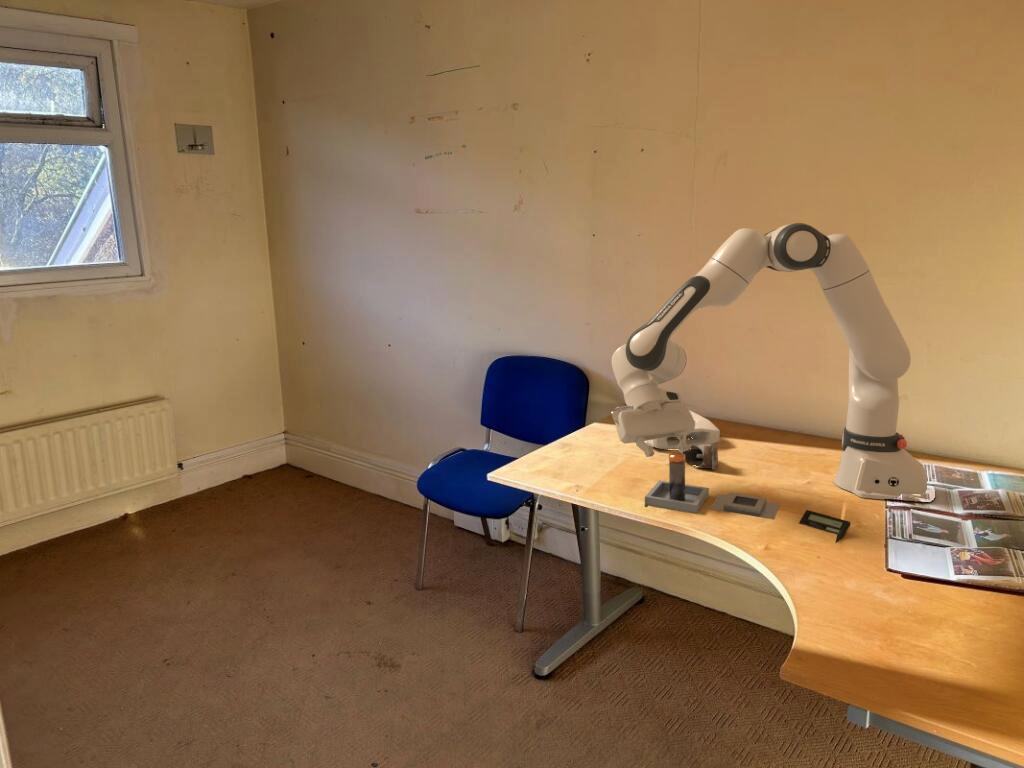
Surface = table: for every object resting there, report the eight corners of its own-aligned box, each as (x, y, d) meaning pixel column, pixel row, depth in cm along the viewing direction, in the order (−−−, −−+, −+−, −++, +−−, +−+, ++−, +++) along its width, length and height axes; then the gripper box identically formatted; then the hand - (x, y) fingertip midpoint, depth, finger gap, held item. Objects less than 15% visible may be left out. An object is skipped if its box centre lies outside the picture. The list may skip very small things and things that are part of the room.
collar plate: (779, 506, 171) (780, 498, 171) (773, 521, 163) (774, 514, 162) (718, 496, 177) (718, 489, 177) (709, 511, 169) (709, 503, 168)
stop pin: (687, 497, 175) (687, 453, 173) (683, 503, 171) (683, 457, 169) (671, 496, 176) (671, 451, 174) (667, 501, 173) (667, 456, 171)
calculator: (782, 537, 155) (783, 524, 155) (806, 521, 163) (807, 509, 163) (826, 551, 149) (827, 537, 148) (849, 534, 157) (850, 521, 156)
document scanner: (654, 453, 211) (655, 432, 210) (616, 426, 238) (616, 408, 236) (720, 446, 216) (721, 426, 215) (676, 421, 243) (677, 403, 241)
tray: (708, 497, 177) (708, 487, 176) (696, 515, 166) (696, 505, 166) (659, 489, 182) (659, 480, 181) (644, 506, 172) (644, 496, 171)
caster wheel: (687, 466, 207) (724, 465, 202) (676, 469, 197) (714, 469, 192) (686, 442, 207) (722, 441, 202) (675, 444, 197) (713, 444, 192)
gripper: (614, 401, 176) (635, 452, 169) (685, 392, 183) (708, 441, 177) (604, 415, 181) (624, 465, 174) (674, 406, 188) (696, 453, 182)
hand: (667, 453), depth 175 cm, fingers open, 8 cm apart
